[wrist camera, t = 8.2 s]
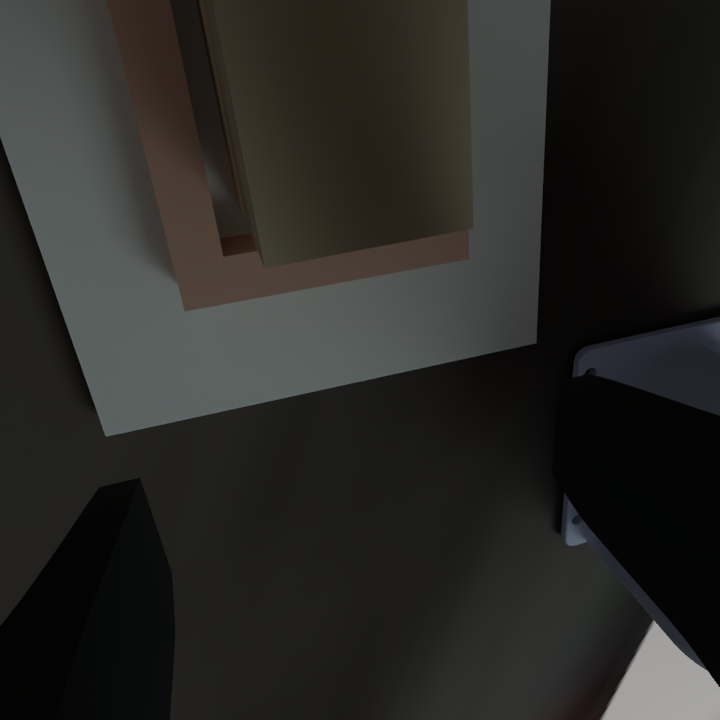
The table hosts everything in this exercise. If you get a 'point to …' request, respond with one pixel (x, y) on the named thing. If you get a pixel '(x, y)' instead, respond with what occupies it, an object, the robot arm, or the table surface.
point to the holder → (228, 227)
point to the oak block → (343, 120)
